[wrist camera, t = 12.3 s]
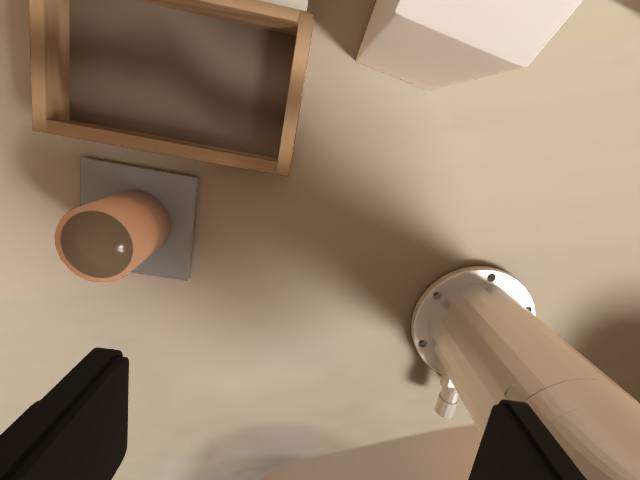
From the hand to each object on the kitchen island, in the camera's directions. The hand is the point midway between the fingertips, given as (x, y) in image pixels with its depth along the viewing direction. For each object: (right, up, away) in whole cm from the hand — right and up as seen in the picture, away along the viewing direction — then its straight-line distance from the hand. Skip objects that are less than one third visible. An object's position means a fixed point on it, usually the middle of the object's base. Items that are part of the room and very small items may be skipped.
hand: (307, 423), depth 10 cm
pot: (-16, +6, +25) cm, 31 cm away
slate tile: (-16, +6, +26) cm, 31 cm away
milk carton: (+8, +22, +22) cm, 32 cm away
